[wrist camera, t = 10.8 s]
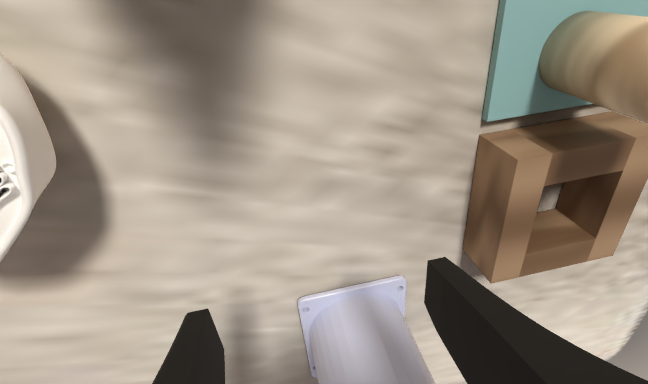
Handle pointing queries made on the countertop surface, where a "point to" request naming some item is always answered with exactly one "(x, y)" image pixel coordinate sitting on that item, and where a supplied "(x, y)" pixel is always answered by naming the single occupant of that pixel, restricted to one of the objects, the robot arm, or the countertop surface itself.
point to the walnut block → (574, 201)
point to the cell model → (20, 155)
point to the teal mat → (534, 54)
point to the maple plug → (600, 61)
